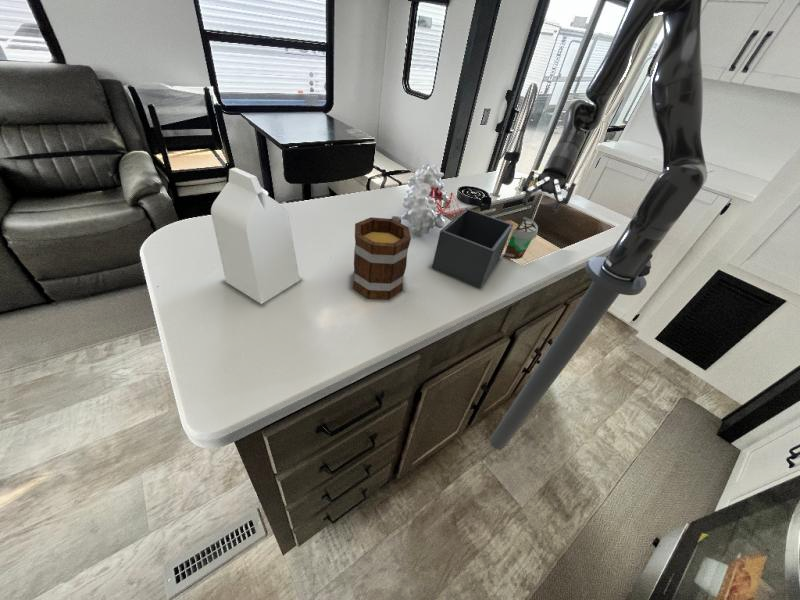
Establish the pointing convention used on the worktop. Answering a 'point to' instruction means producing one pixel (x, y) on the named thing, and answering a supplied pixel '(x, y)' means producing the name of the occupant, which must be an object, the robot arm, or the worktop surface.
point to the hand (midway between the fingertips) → (538, 208)
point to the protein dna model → (426, 200)
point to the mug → (380, 257)
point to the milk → (254, 238)
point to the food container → (521, 239)
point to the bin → (471, 246)
